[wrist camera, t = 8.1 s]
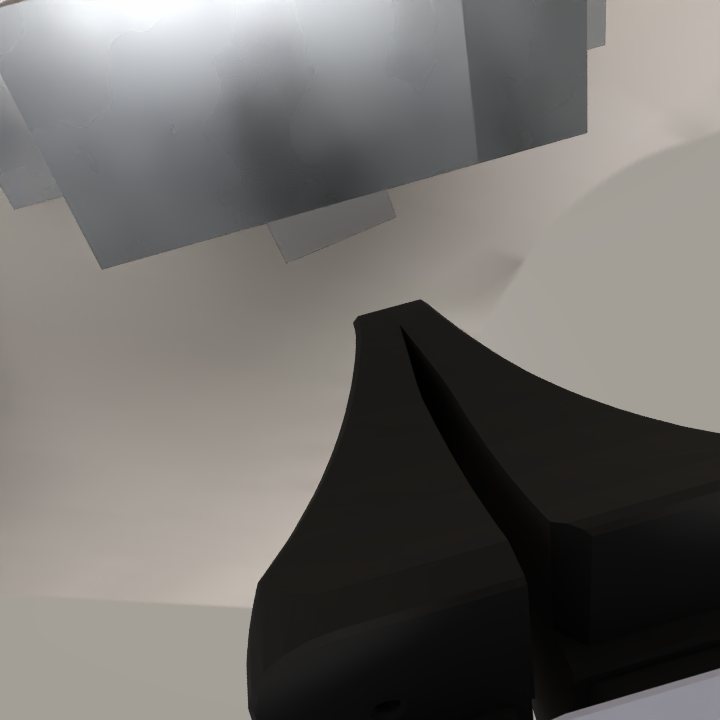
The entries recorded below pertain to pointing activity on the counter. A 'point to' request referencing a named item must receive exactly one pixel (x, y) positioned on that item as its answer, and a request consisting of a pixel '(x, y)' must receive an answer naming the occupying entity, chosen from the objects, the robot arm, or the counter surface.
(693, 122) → the counter surface
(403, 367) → the robot arm
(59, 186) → the mounting bracket
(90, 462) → the counter surface
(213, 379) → the counter surface
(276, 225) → the plug
